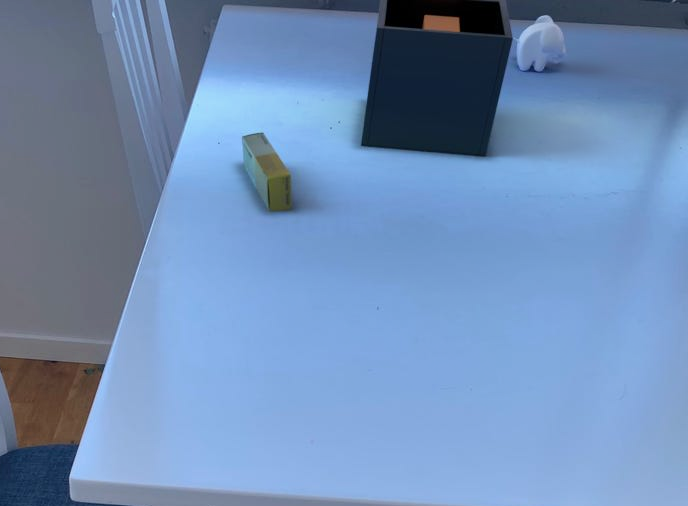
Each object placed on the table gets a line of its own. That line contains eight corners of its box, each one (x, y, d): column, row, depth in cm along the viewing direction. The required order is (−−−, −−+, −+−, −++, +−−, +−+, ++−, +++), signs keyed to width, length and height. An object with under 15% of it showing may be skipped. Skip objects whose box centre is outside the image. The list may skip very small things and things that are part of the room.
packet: (439, 119, 117) (459, 17, 109) (439, 137, 113) (460, 32, 105) (407, 116, 117) (424, 14, 109) (406, 134, 113) (424, 30, 105)
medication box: (242, 172, 107) (240, 134, 104) (265, 168, 107) (264, 130, 104) (268, 215, 99) (267, 176, 96) (293, 211, 99) (292, 172, 96)
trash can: (479, 117, 120) (505, 0, 111) (484, 162, 110) (513, 38, 101) (365, 108, 121) (381, -9, 112) (359, 151, 112) (376, 27, 102)
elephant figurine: (566, 78, 131) (579, 29, 127) (508, 75, 131) (519, 26, 127) (558, 62, 135) (571, 14, 131) (502, 59, 136) (513, 11, 131)
